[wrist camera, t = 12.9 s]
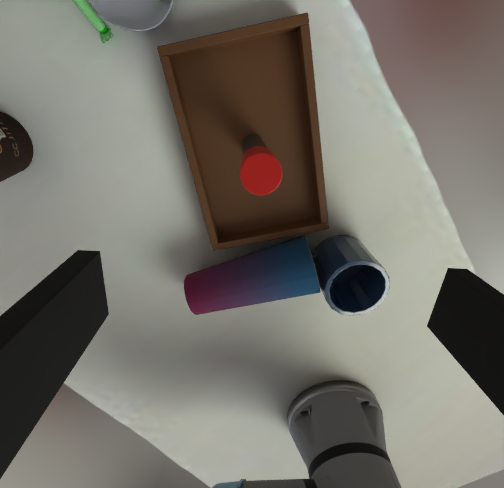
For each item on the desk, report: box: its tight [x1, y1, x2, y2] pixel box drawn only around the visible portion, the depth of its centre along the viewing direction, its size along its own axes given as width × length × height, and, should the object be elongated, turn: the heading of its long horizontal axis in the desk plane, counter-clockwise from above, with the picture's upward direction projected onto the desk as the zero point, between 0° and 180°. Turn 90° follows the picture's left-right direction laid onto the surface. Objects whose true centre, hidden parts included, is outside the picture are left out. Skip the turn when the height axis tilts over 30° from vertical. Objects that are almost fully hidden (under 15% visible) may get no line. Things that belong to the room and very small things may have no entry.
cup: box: [184, 236, 320, 315], centre depth 37 cm, size 7×7×15 cm
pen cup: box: [312, 235, 389, 316], centre depth 36 cm, size 7×7×7 cm
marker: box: [240, 134, 282, 195], centre depth 26 cm, size 3×3×16 cm
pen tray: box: [157, 13, 329, 251], centre depth 32 cm, size 21×14×3 cm, turn 11°
